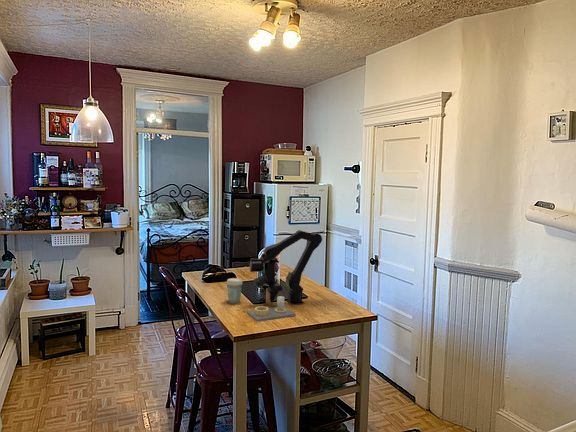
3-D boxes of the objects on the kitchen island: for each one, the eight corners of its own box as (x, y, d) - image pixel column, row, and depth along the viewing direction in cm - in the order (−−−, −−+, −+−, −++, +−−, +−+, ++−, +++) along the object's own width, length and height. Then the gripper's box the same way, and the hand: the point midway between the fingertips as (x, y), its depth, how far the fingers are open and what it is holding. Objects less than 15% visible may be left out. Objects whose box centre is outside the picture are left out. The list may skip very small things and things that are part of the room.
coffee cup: (222, 301, 228) (223, 279, 226) (236, 298, 233) (236, 276, 232) (231, 305, 221) (232, 282, 220) (245, 302, 227) (245, 280, 225)
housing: (283, 307, 219) (284, 292, 219) (295, 315, 208) (296, 299, 207) (246, 312, 211) (247, 296, 210) (257, 321, 199) (257, 304, 198)
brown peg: (270, 302, 228) (271, 287, 228) (273, 304, 225) (273, 289, 224) (264, 302, 227) (265, 288, 226) (267, 304, 224) (267, 289, 223)
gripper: (248, 268, 229) (248, 297, 231) (262, 276, 212) (261, 307, 214) (267, 266, 234) (267, 295, 236) (282, 274, 217) (282, 304, 219)
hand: (269, 300), depth 226 cm, fingers open, 6 cm apart
